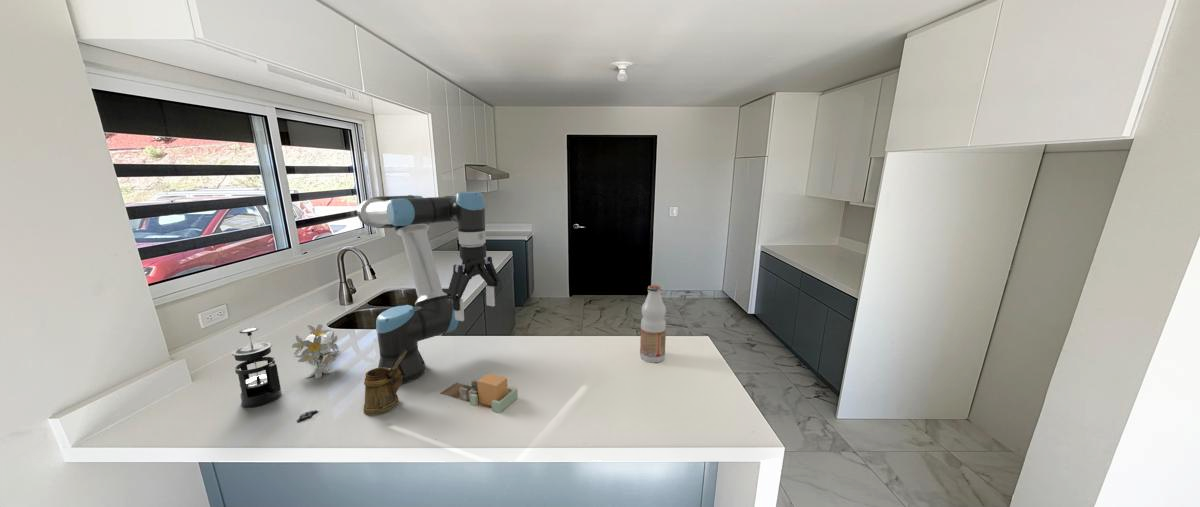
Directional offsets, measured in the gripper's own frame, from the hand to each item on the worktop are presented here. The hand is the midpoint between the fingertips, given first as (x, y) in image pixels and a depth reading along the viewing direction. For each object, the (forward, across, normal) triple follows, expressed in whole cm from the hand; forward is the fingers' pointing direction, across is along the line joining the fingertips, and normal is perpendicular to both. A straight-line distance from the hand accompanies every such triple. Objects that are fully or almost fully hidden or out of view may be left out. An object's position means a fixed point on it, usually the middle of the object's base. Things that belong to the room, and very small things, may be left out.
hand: (476, 312), depth 116 cm
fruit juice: (+26, +44, -45) cm, 68 cm away
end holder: (+25, -4, -9) cm, 27 cm away
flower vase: (+29, -10, +66) cm, 73 cm away
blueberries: (+28, -31, +36) cm, 55 cm away
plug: (+25, -4, -5) cm, 26 cm away
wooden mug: (+27, -18, +19) cm, 38 cm away
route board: (+26, -4, -3) cm, 27 cm away
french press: (+28, -31, +58) cm, 72 cm away
